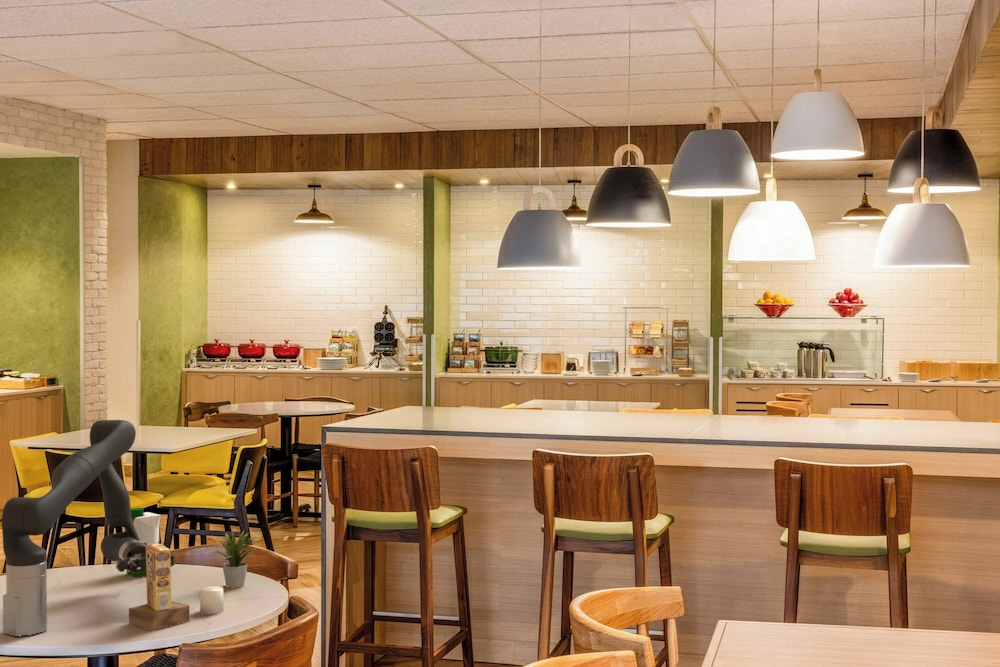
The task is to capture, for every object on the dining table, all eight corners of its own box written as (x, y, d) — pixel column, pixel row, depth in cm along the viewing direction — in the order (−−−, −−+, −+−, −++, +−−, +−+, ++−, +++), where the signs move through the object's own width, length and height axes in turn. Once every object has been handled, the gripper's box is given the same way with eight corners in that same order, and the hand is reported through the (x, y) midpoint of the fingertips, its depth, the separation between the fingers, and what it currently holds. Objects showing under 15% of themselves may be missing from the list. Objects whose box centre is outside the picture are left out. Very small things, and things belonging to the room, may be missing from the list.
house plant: (254, 593, 319) (253, 535, 319) (205, 592, 319) (205, 535, 319) (265, 581, 333) (265, 525, 333) (218, 580, 333) (218, 525, 333)
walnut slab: (153, 630, 281) (152, 614, 281) (128, 623, 287) (128, 608, 287) (189, 621, 290) (189, 605, 290) (165, 614, 296) (165, 599, 296)
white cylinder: (210, 615, 295) (210, 593, 295) (195, 612, 299) (195, 589, 298) (228, 610, 300) (228, 588, 300) (213, 607, 303) (213, 585, 303)
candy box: (172, 609, 286) (171, 549, 286) (155, 611, 284) (154, 551, 283) (161, 602, 293) (161, 543, 293) (145, 604, 291) (144, 544, 291)
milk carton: (122, 574, 342) (121, 508, 341) (149, 569, 348) (149, 504, 348) (137, 578, 336) (136, 511, 335) (164, 573, 342) (164, 507, 342)
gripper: (108, 544, 303) (124, 556, 290) (162, 539, 311) (179, 549, 297) (109, 572, 303) (124, 585, 290) (162, 566, 311) (179, 578, 297)
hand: (152, 567), depth 294 cm, fingers open, 8 cm apart
